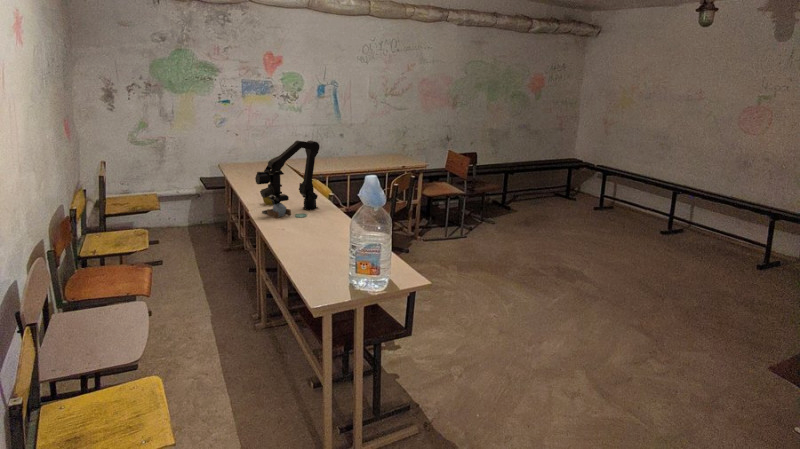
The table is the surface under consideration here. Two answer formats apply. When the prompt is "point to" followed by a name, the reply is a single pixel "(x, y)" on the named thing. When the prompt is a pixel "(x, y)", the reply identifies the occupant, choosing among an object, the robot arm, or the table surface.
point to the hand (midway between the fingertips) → (275, 209)
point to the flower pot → (267, 200)
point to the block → (279, 209)
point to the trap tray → (266, 211)
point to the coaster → (300, 215)
